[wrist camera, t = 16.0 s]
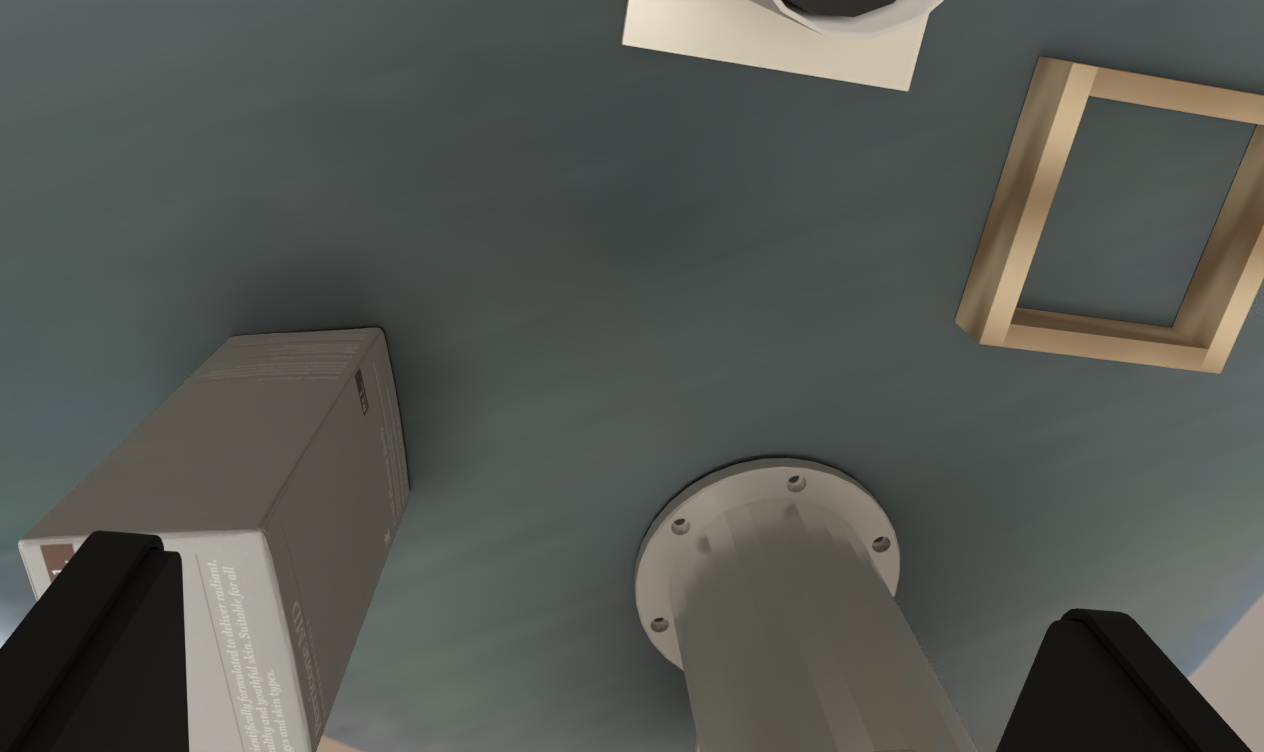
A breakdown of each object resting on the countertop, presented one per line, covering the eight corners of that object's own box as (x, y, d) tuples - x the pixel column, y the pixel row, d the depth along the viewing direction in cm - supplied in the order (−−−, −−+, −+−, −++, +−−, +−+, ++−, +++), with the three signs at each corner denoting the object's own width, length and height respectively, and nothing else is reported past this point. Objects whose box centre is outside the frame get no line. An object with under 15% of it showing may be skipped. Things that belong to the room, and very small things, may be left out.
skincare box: (413, 492, 41) (345, 780, 27) (248, 504, 41) (88, 805, 26) (386, 313, 38) (290, 533, 23) (204, 324, 37) (-8, 557, 23)
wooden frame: (1183, 351, 42) (1220, 373, 39) (954, 321, 40) (979, 344, 38) (1291, 100, 37) (1339, 109, 35) (1039, 56, 36) (1072, 63, 33)
